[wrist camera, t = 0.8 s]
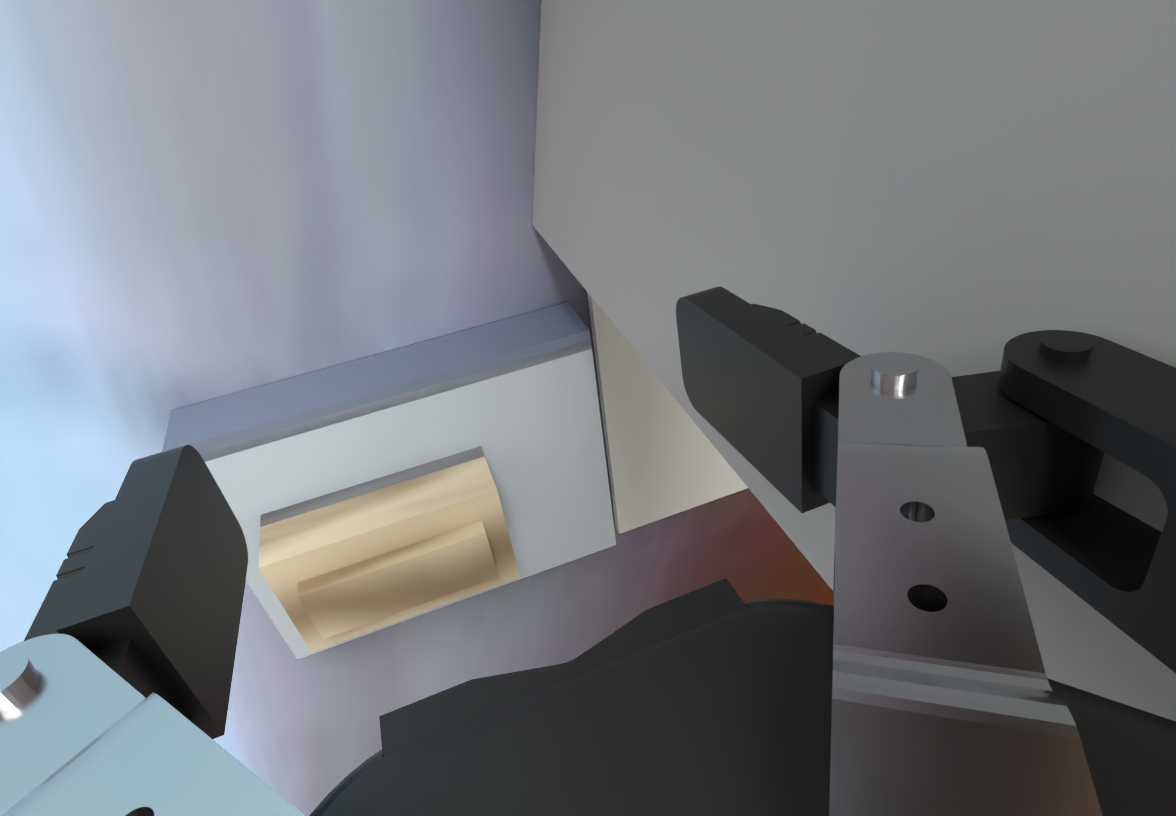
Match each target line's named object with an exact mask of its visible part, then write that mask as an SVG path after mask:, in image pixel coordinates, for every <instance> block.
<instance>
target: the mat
mask: <svg viewBox="0 0 1176 816" xmlns="http://www.w3.org/2000/svg"><path fill="white" fill-rule="evenodd" d="M587 295H588V304H589V312H590V320H591V328H592V336H593V345H594V353H595V361H596V369H597V378H598V386H599V394H600V402H601V410H602V419H603V427H604V435H605V443H606V452H607V460H608V468H609V476H610V484H611V493H612V501H613V509H614V517H615V525H616V529H617V531H618V532H619V534H621V533H624V532H626V531H629V530H632V529H635V528H638V527H640V526H643V525H646V524H649V523H652V522H654V521H657V520H660V519H663V518H666V517H668V516H671V515H674V514H677V513H680V512H682V511H685V510H688V509H691V508H694V507H696V506H699V505H702V504H705V503H708V502H710V501H713V500H716V499H719V498H722V497H725V496H727V495H730V494H733V493H736V492H739V491H741V490H744V489H747V488H748V487H747V486H746V484H745V483H744V482H743V481H742V480H741V478H740V477H739V476H738V475H737V473H736V472H735V471H734V470H733V469H732V467H731V466H730V465H729V464H728V462H727V461H726V460H725V459H724V458H723V456H722V455H721V454H720V453H719V452H718V450H717V449H716V448H715V447H714V445H713V444H712V443H711V442H710V441H709V439H708V438H707V437H706V436H705V435H704V433H703V432H702V431H701V430H700V428H699V427H698V426H697V425H696V424H695V422H694V421H693V420H692V419H691V417H690V416H689V415H688V414H687V413H686V411H685V410H684V409H683V408H682V407H681V405H680V404H679V403H678V402H677V400H676V399H675V398H674V397H673V396H672V394H671V393H670V392H669V391H668V389H667V388H666V387H665V386H664V385H663V383H662V382H661V381H660V380H659V379H658V377H657V376H656V375H655V374H654V372H653V371H652V370H651V369H650V368H649V366H648V365H647V364H646V363H645V361H644V360H643V359H642V358H641V357H640V355H639V354H638V353H637V352H636V351H635V349H634V348H633V347H632V346H631V344H630V343H629V342H628V341H627V340H626V338H625V337H624V336H623V335H622V334H621V332H620V331H619V330H618V329H617V327H616V326H615V325H614V324H613V323H612V321H611V320H610V319H609V318H608V316H607V315H606V314H605V313H604V312H603V310H602V309H601V308H600V307H599V306H598V304H597V303H596V302H595V301H594V299H593V298H592V297H591V296H590V295H589V293H588V292H587Z"/></svg>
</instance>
